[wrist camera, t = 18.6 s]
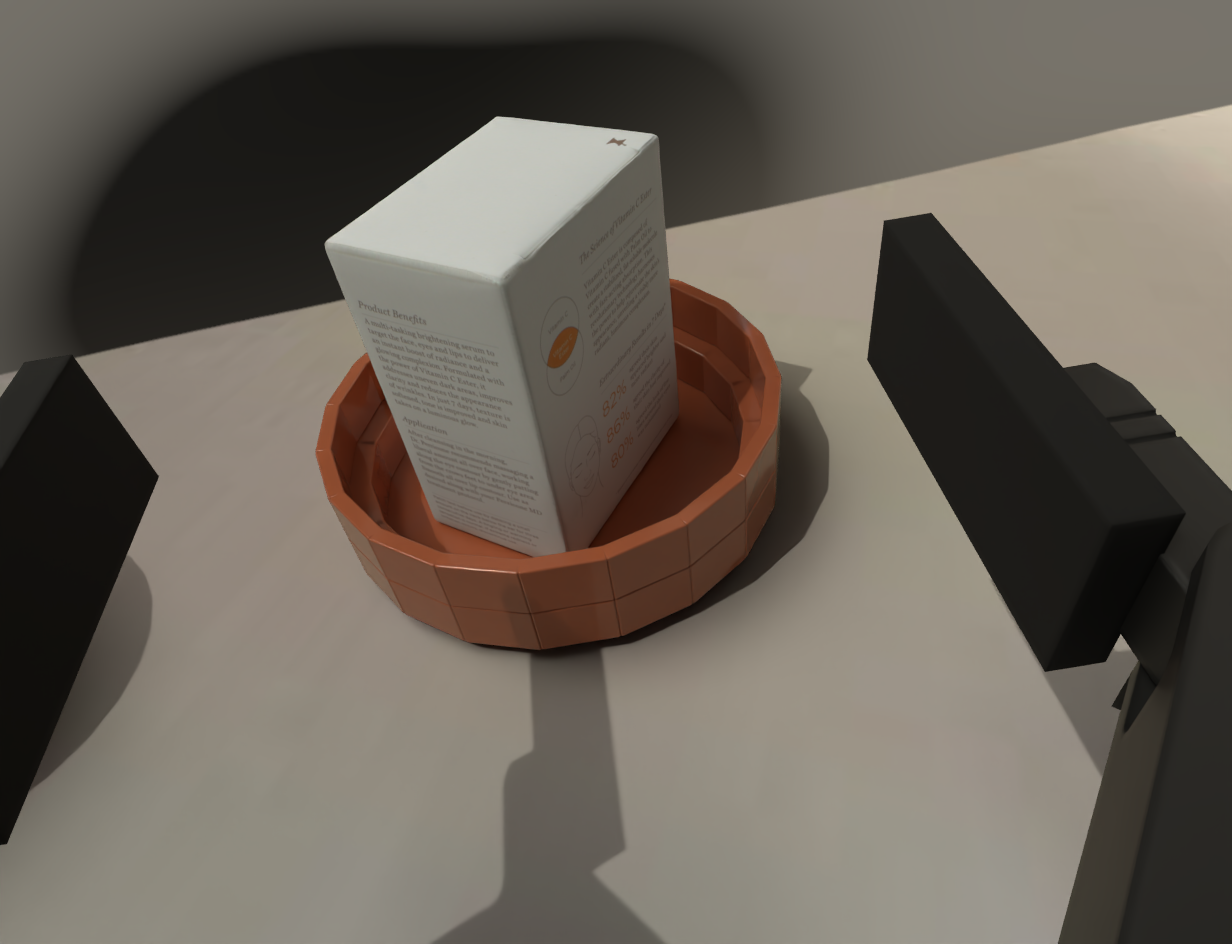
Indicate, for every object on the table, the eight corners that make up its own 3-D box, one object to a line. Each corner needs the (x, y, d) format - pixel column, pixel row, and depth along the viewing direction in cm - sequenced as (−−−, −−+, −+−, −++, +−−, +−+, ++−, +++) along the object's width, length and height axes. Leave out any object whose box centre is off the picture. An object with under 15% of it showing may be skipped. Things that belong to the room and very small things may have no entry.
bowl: (726, 330, 34) (724, 243, 31) (833, 612, 24) (844, 520, 21) (380, 386, 34) (347, 304, 31) (333, 695, 24) (278, 612, 21)
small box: (554, 384, 32) (497, 110, 25) (684, 418, 30) (663, 127, 22) (429, 525, 27) (312, 238, 20) (572, 579, 25) (499, 276, 18)
